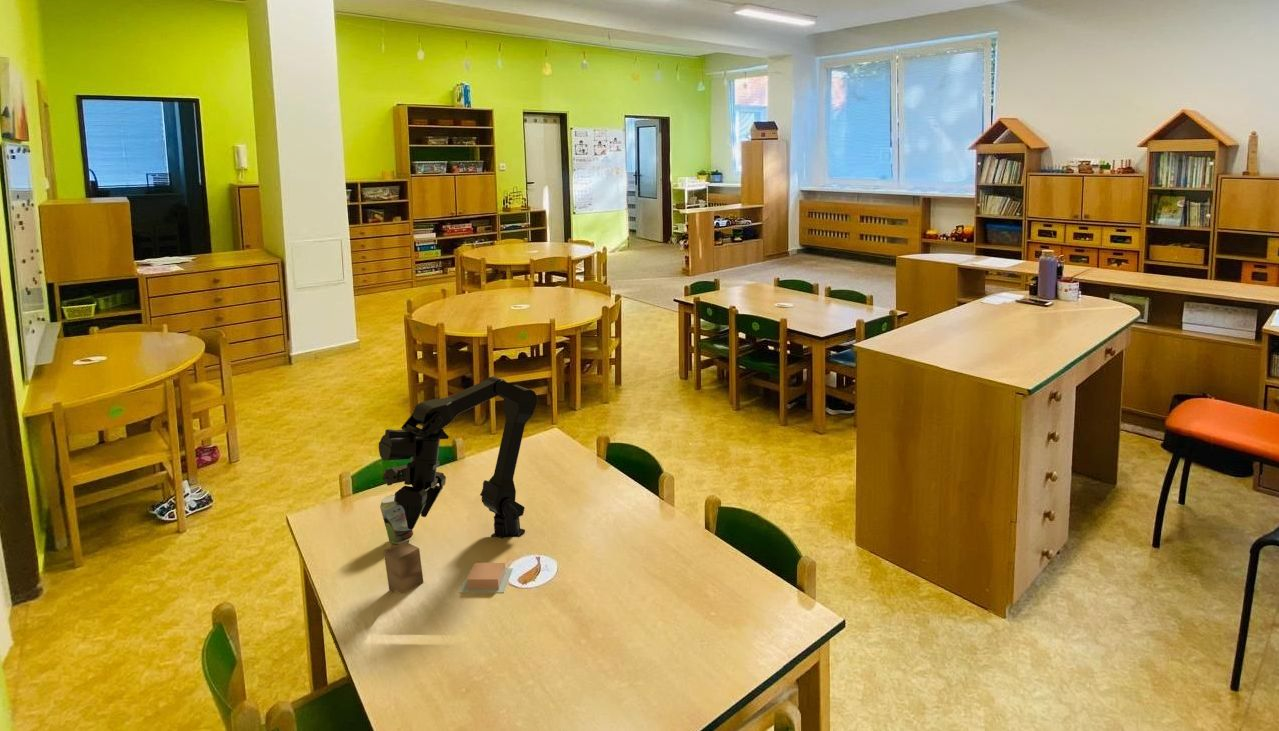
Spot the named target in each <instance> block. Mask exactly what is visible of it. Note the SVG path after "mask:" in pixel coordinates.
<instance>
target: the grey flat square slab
mask: <svg viewBox="0 0 1279 731" xmlns="http://www.w3.org/2000/svg"><path fill="white" fill-rule="evenodd" d="M505 569H506V573H505V575H504V578H503V580H502V583H501V585H500V588H499V589H468V585H467V578H468V576H469V574H470V572H471V570H472V568H470V570H469V572H468V573H467V576H466V578H465V580H464V582H463V583H462V586H461V588H460V590H459V592H458V593H459V594H504V593H505V590H506V588H507V586H508V582H509V580H510V577H511V575H512V573H513V570H514V568H506V567H505Z"/></svg>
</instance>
